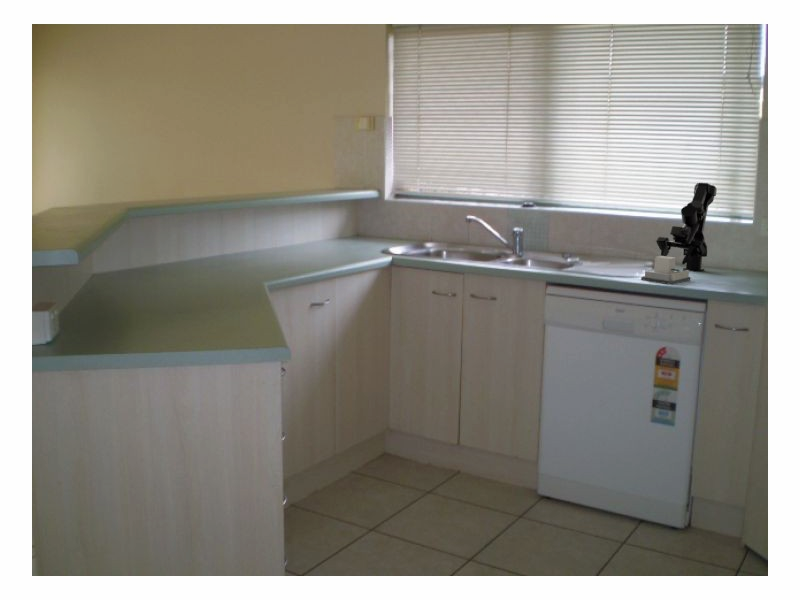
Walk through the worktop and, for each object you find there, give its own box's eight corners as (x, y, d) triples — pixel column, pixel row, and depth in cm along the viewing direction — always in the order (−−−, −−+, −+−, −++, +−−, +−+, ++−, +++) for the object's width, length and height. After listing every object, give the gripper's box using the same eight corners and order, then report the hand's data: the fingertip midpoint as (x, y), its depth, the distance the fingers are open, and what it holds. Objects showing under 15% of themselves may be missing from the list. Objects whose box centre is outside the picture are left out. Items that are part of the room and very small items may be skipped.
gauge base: (660, 275, 358) (660, 265, 358) (690, 280, 350) (691, 269, 349) (641, 279, 348) (641, 269, 348) (671, 284, 339) (672, 273, 339)
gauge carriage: (660, 274, 351) (661, 255, 350) (681, 277, 345) (682, 258, 344) (653, 276, 348) (655, 257, 346) (674, 279, 342) (676, 259, 340)
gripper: (660, 216, 357) (644, 246, 352) (704, 221, 344) (688, 252, 339) (668, 234, 364) (652, 264, 359) (712, 239, 351) (696, 270, 346)
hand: (671, 262), depth 350 cm, fingers open, 9 cm apart
